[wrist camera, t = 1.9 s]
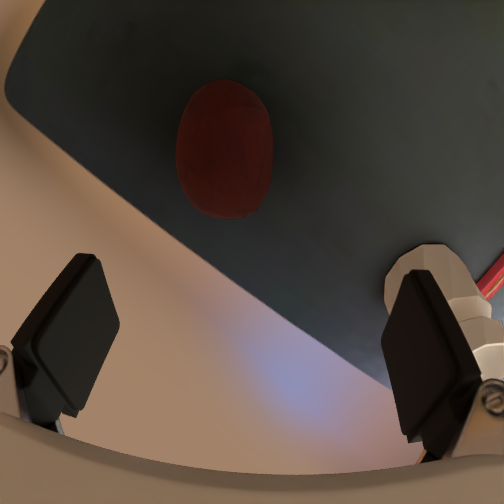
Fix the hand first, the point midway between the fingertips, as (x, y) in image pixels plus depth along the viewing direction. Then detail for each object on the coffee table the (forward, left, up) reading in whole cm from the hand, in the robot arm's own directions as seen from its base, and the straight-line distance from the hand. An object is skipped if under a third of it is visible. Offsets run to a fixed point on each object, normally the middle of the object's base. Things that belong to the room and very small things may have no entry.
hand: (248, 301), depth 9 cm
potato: (-5, -3, -11) cm, 12 cm away
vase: (+19, +3, -16) cm, 25 cm away
